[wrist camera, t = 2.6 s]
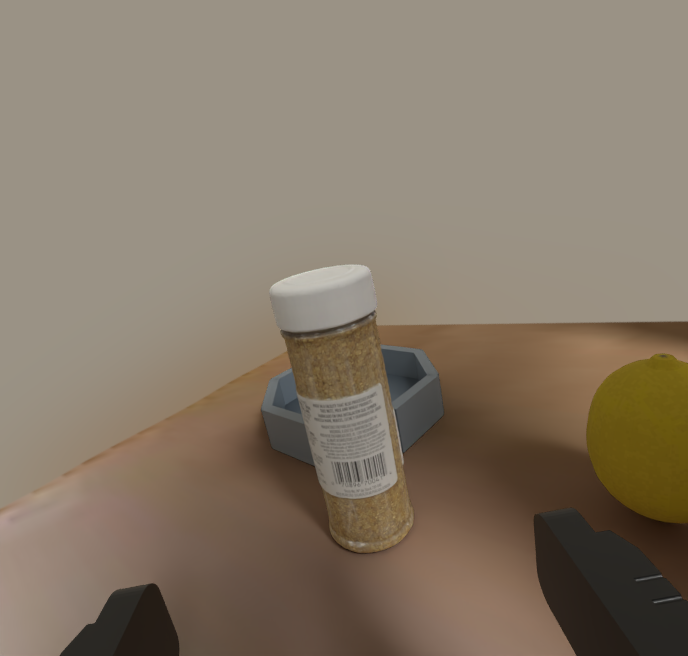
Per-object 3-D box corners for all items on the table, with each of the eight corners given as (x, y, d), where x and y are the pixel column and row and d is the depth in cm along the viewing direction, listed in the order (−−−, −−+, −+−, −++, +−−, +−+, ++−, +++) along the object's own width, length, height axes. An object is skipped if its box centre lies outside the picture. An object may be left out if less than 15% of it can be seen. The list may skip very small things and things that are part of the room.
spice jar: (418, 493, 24) (378, 256, 20) (410, 561, 20) (358, 278, 16) (340, 493, 25) (288, 270, 21) (317, 556, 21) (248, 293, 17)
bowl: (418, 367, 40) (413, 335, 39) (460, 442, 28) (454, 398, 27) (283, 393, 40) (274, 362, 39) (264, 480, 28) (252, 437, 27)
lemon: (562, 499, 21) (555, 353, 19) (651, 465, 22) (655, 322, 20) (668, 588, 16) (676, 402, 14) (778, 538, 17) (802, 358, 15)
